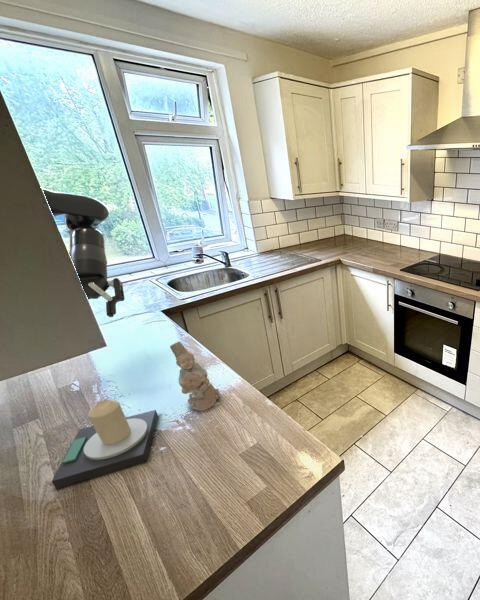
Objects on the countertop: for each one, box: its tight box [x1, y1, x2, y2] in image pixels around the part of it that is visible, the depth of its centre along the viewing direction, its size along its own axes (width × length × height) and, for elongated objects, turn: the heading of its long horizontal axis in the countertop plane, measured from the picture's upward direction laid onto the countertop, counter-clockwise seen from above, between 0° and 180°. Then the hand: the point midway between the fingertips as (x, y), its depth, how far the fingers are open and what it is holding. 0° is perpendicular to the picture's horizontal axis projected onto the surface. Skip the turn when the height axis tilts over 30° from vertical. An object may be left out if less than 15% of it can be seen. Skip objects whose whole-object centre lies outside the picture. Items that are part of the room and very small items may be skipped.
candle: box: [87, 399, 131, 445], centre depth 77 cm, size 6×6×10 cm
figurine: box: [169, 341, 220, 412], centre depth 91 cm, size 9×8×20 cm
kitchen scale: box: [51, 409, 159, 490], centre depth 79 cm, size 16×16×3 cm
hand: (89, 319), depth 84 cm, fingers open, 8 cm apart
